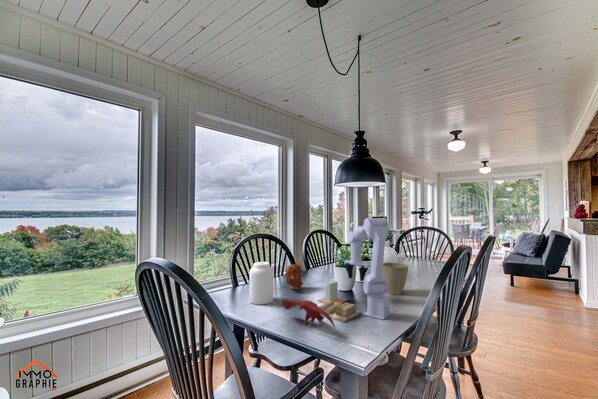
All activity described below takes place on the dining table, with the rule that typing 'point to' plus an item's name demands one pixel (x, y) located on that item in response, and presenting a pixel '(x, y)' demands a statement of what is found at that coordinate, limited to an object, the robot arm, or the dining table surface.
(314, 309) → the red animal figurine
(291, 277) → the orange-brown rough oval lump
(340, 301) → the mat
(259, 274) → the white jar
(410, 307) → the dining table surface
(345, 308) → the offcut pile
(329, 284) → the pale green block
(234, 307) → the dining table surface
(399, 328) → the dining table surface
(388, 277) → the plant pot
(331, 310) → the wooden blocks on board
